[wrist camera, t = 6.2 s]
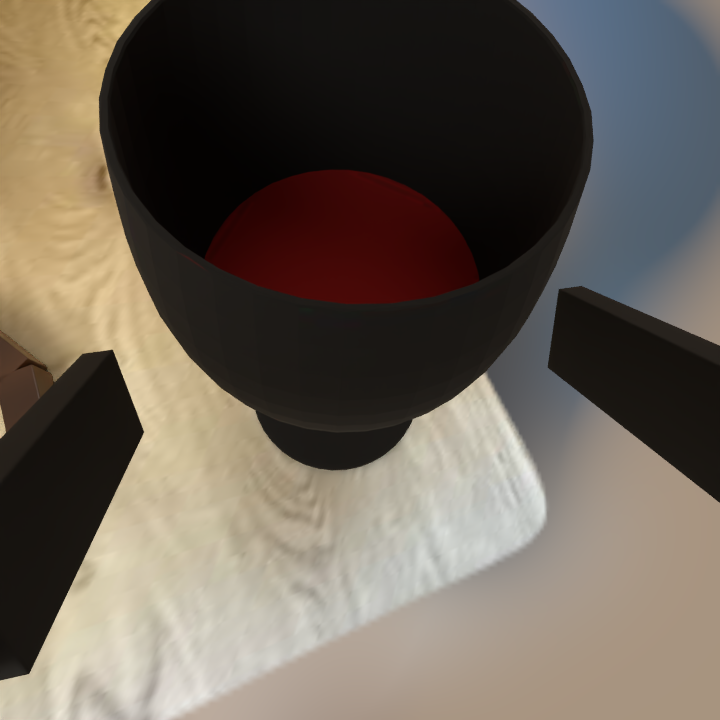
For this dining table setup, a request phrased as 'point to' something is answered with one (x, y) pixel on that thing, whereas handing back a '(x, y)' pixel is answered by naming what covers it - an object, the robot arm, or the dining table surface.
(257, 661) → the dining table surface
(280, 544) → the dining table surface
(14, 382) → the walnut ring
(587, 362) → the robot arm
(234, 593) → the dining table surface
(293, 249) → the wine glass
